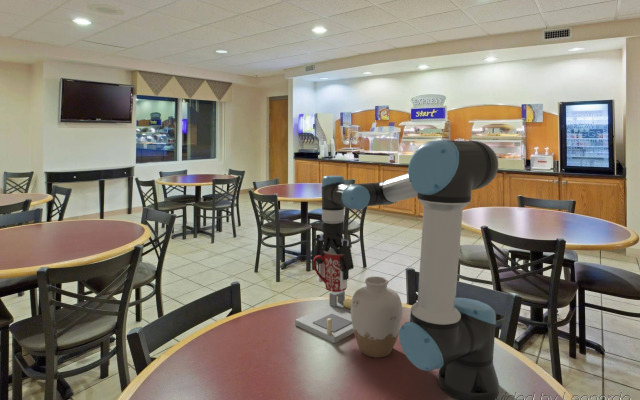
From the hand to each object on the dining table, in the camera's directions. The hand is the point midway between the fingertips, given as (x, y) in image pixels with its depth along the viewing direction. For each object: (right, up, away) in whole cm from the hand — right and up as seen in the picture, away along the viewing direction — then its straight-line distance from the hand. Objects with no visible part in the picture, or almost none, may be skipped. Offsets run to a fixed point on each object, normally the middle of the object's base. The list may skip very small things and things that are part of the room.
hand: (332, 284), depth 133 cm
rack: (+1, -15, +6) cm, 17 cm away
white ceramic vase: (+13, -18, -12) cm, 25 cm away
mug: (-1, -2, +1) cm, 2 cm away
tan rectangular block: (+8, -12, +12) cm, 19 cm away
